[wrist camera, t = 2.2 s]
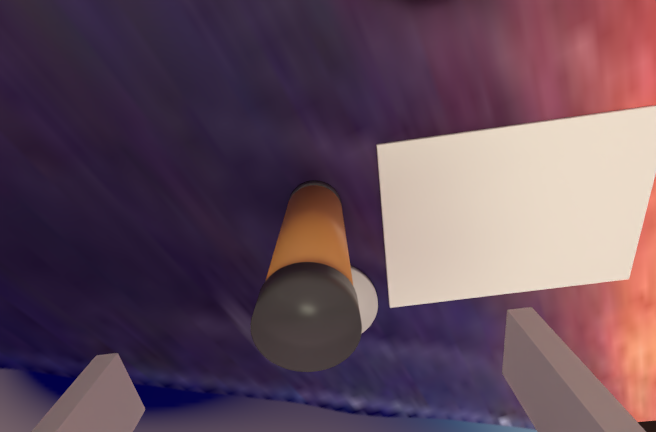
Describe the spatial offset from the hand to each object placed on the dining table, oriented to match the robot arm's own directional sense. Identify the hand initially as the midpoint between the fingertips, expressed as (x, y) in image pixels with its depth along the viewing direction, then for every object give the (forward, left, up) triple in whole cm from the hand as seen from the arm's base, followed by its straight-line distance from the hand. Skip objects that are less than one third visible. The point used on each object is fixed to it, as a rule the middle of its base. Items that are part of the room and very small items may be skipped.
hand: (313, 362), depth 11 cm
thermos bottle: (0, 0, -15) cm, 15 cm away
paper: (+15, -3, -15) cm, 21 cm away
